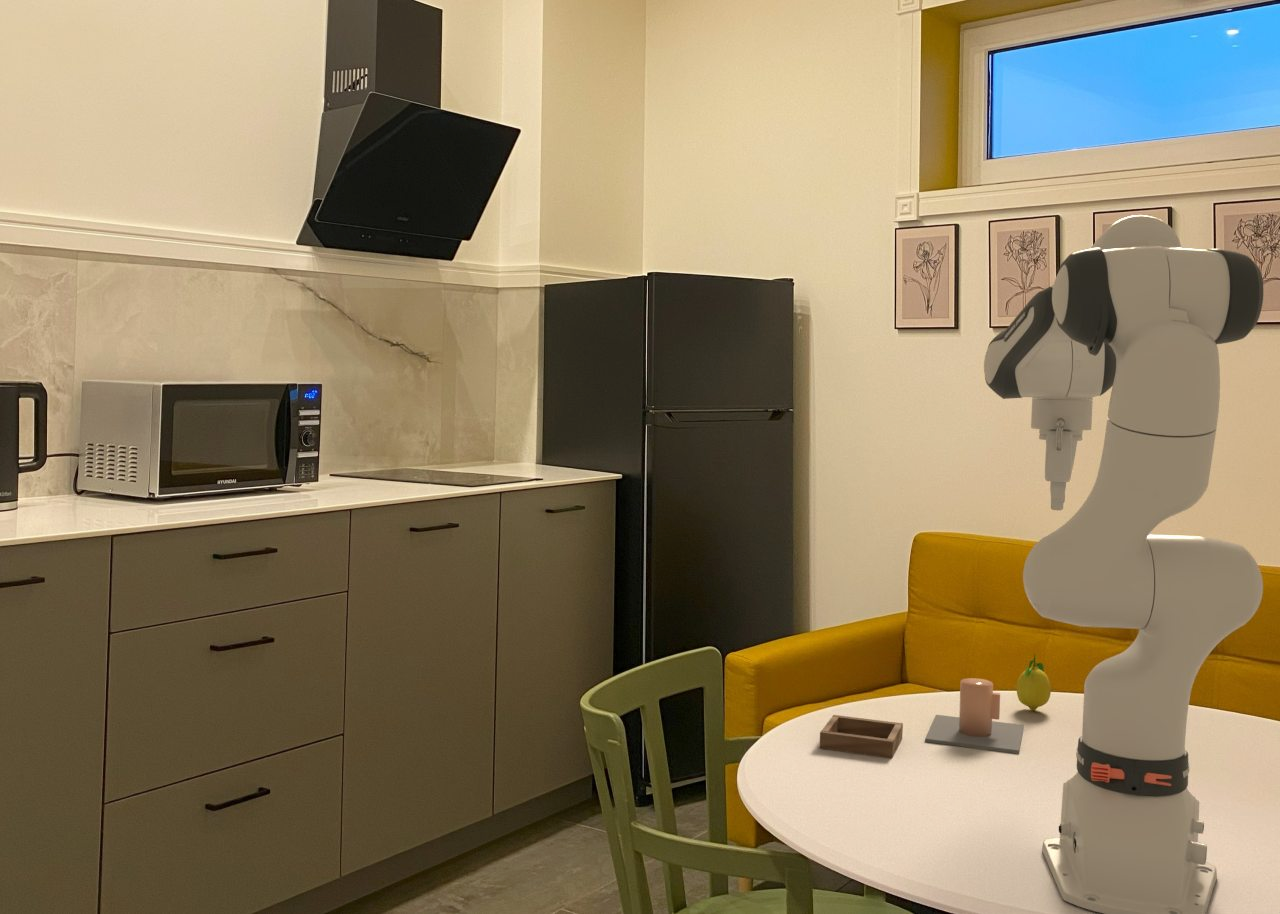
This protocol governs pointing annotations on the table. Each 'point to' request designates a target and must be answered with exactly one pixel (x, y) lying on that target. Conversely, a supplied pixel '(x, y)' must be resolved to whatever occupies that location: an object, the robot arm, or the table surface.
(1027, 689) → the lemon
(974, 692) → the capsule with tab
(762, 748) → the table surface
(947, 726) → the mat
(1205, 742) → the table surface
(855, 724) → the brown wooden frame
